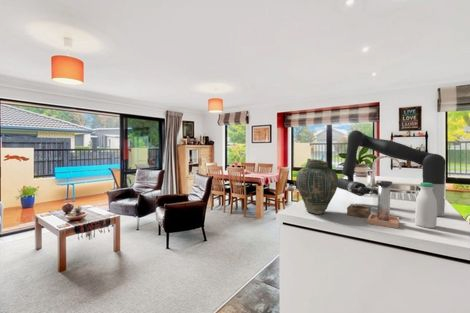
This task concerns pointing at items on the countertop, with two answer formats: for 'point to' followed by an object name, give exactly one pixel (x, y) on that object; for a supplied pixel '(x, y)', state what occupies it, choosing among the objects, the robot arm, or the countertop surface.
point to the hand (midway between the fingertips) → (371, 193)
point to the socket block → (359, 211)
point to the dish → (392, 221)
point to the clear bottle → (383, 200)
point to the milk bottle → (426, 207)
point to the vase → (316, 185)
